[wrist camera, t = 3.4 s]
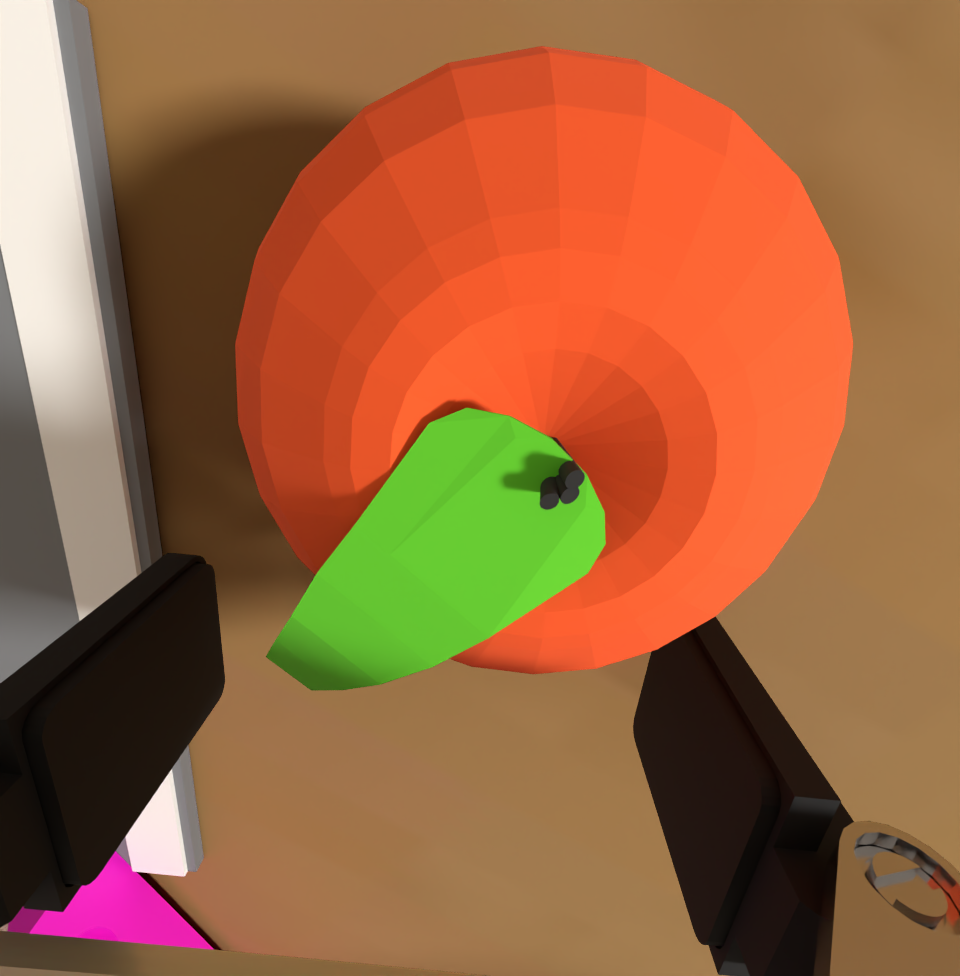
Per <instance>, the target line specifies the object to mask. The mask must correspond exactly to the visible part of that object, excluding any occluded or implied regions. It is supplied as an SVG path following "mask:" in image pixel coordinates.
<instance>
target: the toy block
mask: <svg viewBox="0 0 960 976" xmlns="http://www.w3.org/2000/svg"><path fill="white" fill-rule="evenodd" d="M8 931H9V932H20V933H31V934H43V935H54V936H65V937H77V938H88V939H99V940H110V941H122V942H133V943H144V944H156V945H167V946H178V947H190V948H201V949H212V950H214V949H213V948H212V947H211V946H210V945H209V944H208V943H207V942H206V941H205V940H204V939H203V938H202V937H201V936H200V935H199V934H198V933H197V932H196V931H195V930H194V929H193V928H192V927H191V926H190V925H189V924H188V923H187V922H186V921H185V920H184V919H183V918H182V917H181V916H180V915H179V914H178V913H177V912H176V911H175V910H174V909H173V908H172V907H171V906H170V905H169V904H168V903H167V902H166V901H165V900H164V899H163V898H162V897H161V896H160V895H159V894H158V893H157V892H156V891H155V890H154V889H153V888H152V887H151V886H150V885H149V884H148V883H147V882H146V881H145V880H144V879H143V878H142V877H141V876H140V875H139V874H138V873H137V872H134V871H132V867H131V866H130V865H129V864H128V863H127V862H126V861H125V860H124V859H123V858H122V857H121V856H120V855H119V854H118V853H117V852H116V851H115V853H114V854H113V856H112V857H111V858H110V860H109V861H108V863H107V864H106V866H105V867H104V869H103V870H102V872H101V873H100V874H99V876H98V877H97V878H96V879H95V880H94V881H93V882H92V883H91V884H89V885H86V886H83V885H82V886H81V888H80V889H79V890H78V892H77V893H76V895H75V896H74V897H73V899H72V900H71V902H70V903H69V905H68V906H67V907H66V909H65V910H64V912H55V911H45V910H34V909H24V906H23V907H22V908H21V910H20V911H19V912H18V914H17V915H16V916H15V917H14V919H13V920H12V921H11V922H9V924H8Z"/></svg>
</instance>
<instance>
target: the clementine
mask: <svg viewBox="0 0 960 976" xmlns="http://www.w3.org/2000/svg"><path fill="white" fill-rule="evenodd" d="M852 348H853V340H852V334H851V328H850V322H849V316H848V310H847V304H846V298H845V292H844V286H843V280H842V274H841V268H840V262H839V257H838V255H837V253H836V251H835V249H834V247H833V245H832V243H831V241H830V239H829V237H828V235H827V233H826V231H825V229H824V227H823V225H822V223H821V221H820V219H819V217H818V215H817V213H816V211H815V209H814V207H813V205H812V203H811V201H810V199H809V197H808V195H807V193H806V191H805V189H804V187H803V185H802V183H801V181H800V179H799V177H798V176H797V175H796V174H795V173H794V172H793V171H792V170H791V169H790V168H789V167H788V166H787V165H786V164H785V163H784V162H783V161H782V160H781V159H780V158H779V157H778V156H777V155H776V154H775V153H774V152H773V151H772V150H771V149H770V148H769V147H768V146H767V145H766V144H765V143H764V141H763V140H762V139H761V138H760V137H759V136H758V135H757V134H756V133H755V132H754V131H753V130H752V129H751V128H750V127H749V126H748V125H747V124H746V123H745V122H744V121H743V120H742V119H741V118H740V117H739V116H738V115H737V114H736V113H735V112H734V111H733V110H731V109H730V108H728V107H726V106H725V105H723V104H721V103H719V102H718V101H716V100H714V99H712V98H710V97H708V96H706V95H704V94H702V93H700V92H698V91H696V90H694V89H692V88H690V87H688V86H686V85H684V84H682V83H680V82H678V81H676V80H674V79H672V78H670V77H668V76H666V75H664V74H663V73H661V72H659V71H657V70H655V69H653V68H651V67H649V66H647V65H645V64H643V63H641V62H639V61H637V60H633V59H626V58H620V57H613V56H606V55H599V54H592V53H585V52H578V51H571V50H564V49H558V48H551V47H544V46H540V47H535V48H529V49H524V50H518V51H512V52H507V53H501V54H496V55H490V56H485V57H479V58H473V59H468V60H462V61H457V62H451V63H447V64H445V65H443V66H442V67H440V68H438V69H436V70H434V71H432V72H430V73H428V74H426V75H425V76H423V77H421V78H419V79H417V80H415V81H413V82H411V83H410V84H408V85H406V86H404V87H402V88H400V89H398V90H396V91H395V92H393V93H391V94H389V95H387V96H385V97H383V98H381V99H379V100H378V101H376V102H374V103H372V104H370V105H368V106H366V107H365V108H364V109H363V110H362V111H361V112H360V113H359V114H358V115H357V116H356V117H355V118H354V119H353V120H352V121H351V122H350V123H349V124H348V125H347V126H346V127H345V128H344V129H343V130H342V131H341V132H340V133H339V134H338V135H337V136H336V137H335V138H334V139H333V140H332V141H331V142H330V143H329V144H328V145H327V146H326V147H325V148H324V149H323V150H322V151H321V152H320V153H319V154H318V155H317V156H316V157H315V158H314V159H313V160H312V161H311V162H310V163H309V164H308V165H307V166H306V167H305V168H304V169H303V170H302V171H301V172H300V173H299V175H298V177H297V179H296V181H295V183H294V184H293V186H292V188H291V190H290V192H289V194H288V195H287V197H286V199H285V201H284V203H283V205H282V206H281V208H280V210H279V212H278V214H277V216H276V217H275V219H274V221H273V223H272V225H271V227H270V228H269V230H268V232H267V234H266V236H265V238H264V239H263V241H262V243H261V245H260V247H259V249H258V251H257V255H256V258H255V261H254V265H253V269H252V273H251V278H250V282H249V286H248V291H247V295H246V299H245V304H244V308H243V312H242V317H241V321H240V325H239V330H238V334H237V338H236V343H235V353H236V378H237V404H238V424H239V428H240V431H241V434H242V438H243V441H244V444H245V448H246V451H247V454H248V457H249V461H250V464H251V467H252V471H253V474H254V477H255V480H256V484H257V487H258V490H259V494H260V496H261V498H262V500H263V501H264V503H265V504H266V506H267V508H268V509H269V511H270V513H271V514H272V516H273V518H274V519H275V521H276V523H277V524H278V526H279V528H280V529H281V531H282V533H283V534H284V536H285V538H286V539H287V541H288V543H289V544H290V546H291V548H292V549H293V551H294V553H295V554H296V556H297V557H298V558H299V559H300V560H301V561H302V562H303V563H304V564H305V565H306V566H307V567H308V568H309V569H310V570H311V571H312V572H313V573H314V574H315V577H314V579H313V580H312V582H311V584H310V586H309V587H308V589H307V591H306V592H305V594H304V596H303V597H302V599H301V601H300V602H299V604H298V606H297V607H296V609H295V611H294V612H293V614H292V616H291V617H290V619H289V620H288V622H287V623H286V625H285V626H284V628H283V630H282V631H281V633H280V634H279V636H278V637H277V639H276V640H275V642H274V644H273V645H272V647H271V649H270V651H269V652H268V654H267V656H266V657H267V658H268V659H269V660H271V661H272V662H273V663H275V664H276V665H278V666H279V667H280V668H282V669H283V670H284V671H286V672H287V673H288V674H290V675H291V676H292V677H294V678H295V679H297V680H298V681H299V682H301V683H302V684H303V685H305V686H306V687H307V688H309V689H310V690H346V689H353V688H360V687H366V686H373V685H380V684H383V683H386V682H389V681H392V680H395V679H398V678H401V677H404V676H407V675H410V674H413V673H416V672H419V671H422V670H425V669H428V668H431V667H434V666H435V665H437V664H439V663H441V662H443V661H445V660H447V659H452V660H454V661H457V662H460V663H463V664H466V665H469V666H471V667H480V668H488V669H496V670H504V671H512V672H520V673H528V674H540V673H551V672H562V671H573V670H584V669H596V668H599V667H602V666H605V665H609V664H612V663H615V662H618V661H621V660H625V659H628V658H631V657H634V656H638V655H641V654H644V653H647V652H651V651H654V650H657V649H659V648H660V647H662V646H664V645H666V644H668V643H669V642H671V641H673V640H675V639H676V638H678V637H680V636H682V635H684V634H685V633H687V632H689V631H691V630H692V629H694V628H696V627H698V626H699V625H701V624H703V623H705V622H707V621H708V620H710V619H712V618H714V617H715V616H716V615H717V614H718V613H719V612H721V611H722V610H723V609H724V608H725V607H726V606H727V605H728V604H729V603H731V602H732V601H733V600H734V599H735V598H736V597H737V596H738V595H739V594H741V593H742V592H743V591H744V590H745V589H746V588H747V587H748V586H749V585H751V584H752V583H753V582H754V581H755V580H756V579H757V578H758V577H759V576H761V575H762V574H763V573H764V572H765V571H766V569H767V568H768V567H769V565H770V564H771V562H772V561H773V560H774V558H775V557H776V555H777V554H778V552H779V551H780V549H781V548H782V547H783V545H784V544H785V542H786V541H787V539H788V538H789V537H790V535H791V534H792V532H793V531H794V529H795V528H796V527H797V525H798V524H799V522H800V521H801V519H802V518H803V516H804V515H805V514H806V512H807V511H808V509H809V508H810V506H811V505H812V504H813V502H814V501H815V499H816V497H817V494H818V491H819V489H820V486H821V484H822V481H823V478H824V476H825V473H826V471H827V468H828V466H829V463H830V460H831V458H832V455H833V453H834V450H835V447H836V445H837V442H838V440H839V437H840V434H841V432H842V429H843V427H844V420H845V411H846V402H847V393H848V384H849V375H850V366H851V357H852Z"/></svg>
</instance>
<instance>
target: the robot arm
mask: <svg viewBox="0 0 960 976" xmlns="http://www.w3.org/2000/svg"><path fill="white" fill-rule="evenodd" d="M224 684H225V674H224V664H223V654H222V644H221V634H220V624H219V614H218V604H217V594H216V584H215V573H214V569H213V567H212V566H211V565H209V564H206V561H205V560H204V558H203V557H201V556H197V555H186V554H176V553H167V554H166V555H164V556H162V557H161V558H160V559H159V560H157V561H156V562H155V563H153V564H152V565H151V566H150V567H148V568H147V569H146V570H144V571H143V572H142V573H141V574H139V575H138V576H137V577H136V578H134V579H133V580H132V581H130V582H129V583H128V584H127V585H125V586H124V587H123V588H121V589H120V590H119V591H118V592H116V593H115V594H114V595H113V596H111V597H110V598H109V599H107V600H106V601H105V602H104V603H102V604H101V605H100V606H98V607H97V608H96V609H95V610H93V611H92V612H91V613H90V614H88V615H87V616H86V617H84V618H83V619H82V620H81V621H79V622H78V623H77V624H75V625H74V626H73V627H72V628H70V629H69V630H68V631H67V632H65V633H64V634H63V635H61V636H60V637H59V638H58V639H56V640H55V641H54V642H52V643H51V644H50V645H49V646H47V647H46V648H45V649H44V650H42V651H41V652H40V653H38V654H37V655H36V656H35V657H33V658H32V659H31V660H29V661H28V662H27V663H26V664H24V665H23V666H22V667H21V668H19V669H18V670H17V671H15V672H14V673H13V674H12V675H10V676H9V677H8V678H6V679H5V680H4V681H3V682H1V683H0V976H486V975H477V974H466V973H456V972H445V971H435V970H424V969H414V968H403V967H393V966H382V965H372V964H362V963H351V962H341V961H330V960H319V959H309V958H298V957H287V956H277V955H266V954H255V953H245V952H234V951H223V950H212V949H201V948H190V947H178V946H167V945H156V944H144V943H133V942H122V941H110V940H99V939H88V938H77V937H65V936H54V935H43V934H31V933H20V932H9V931H8V924H9V922H11V921H12V920H13V919H14V917H15V916H16V915H17V914H18V912H19V911H20V910H21V908H22V907H23V906H24V909H34V910H45V911H55V912H64V910H65V909H66V907H67V906H68V905H69V903H70V902H71V900H72V899H73V897H74V896H75V895H76V893H77V892H78V890H79V889H80V888H81V886H82V885H83V886H86V885H89V884H91V883H92V882H93V881H94V880H95V879H96V878H97V877H98V876H99V874H100V873H101V872H102V870H103V869H104V867H105V866H106V864H107V863H108V861H109V860H110V858H111V857H112V856H113V854H114V853H115V851H116V850H117V848H118V847H119V845H120V844H121V842H122V841H123V839H124V838H125V837H126V835H127V834H128V832H129V831H130V829H131V828H132V826H133V825H134V823H135V822H136V820H137V819H138V818H139V816H140V815H141V813H142V812H143V810H144V809H145V807H146V806H147V804H148V803H149V802H150V800H151V799H152V797H153V796H154V794H155V793H156V791H157V790H158V788H159V787H160V785H161V784H162V783H163V781H164V780H165V778H166V777H167V775H168V774H169V772H170V771H171V769H172V768H173V766H174V765H175V764H176V762H177V761H178V759H179V758H180V756H181V755H182V753H183V752H184V750H185V749H186V747H187V746H188V745H189V743H190V742H191V740H192V739H193V737H194V736H195V734H196V733H197V731H198V730H199V729H200V727H201V726H202V724H203V723H204V721H205V720H206V718H207V717H208V715H209V714H210V712H211V711H212V710H213V708H214V707H215V705H216V704H217V702H218V701H219V699H220V697H221V695H222V692H223V689H224ZM633 731H634V739H635V742H636V746H637V749H638V752H639V755H640V759H641V762H642V765H643V768H644V771H645V775H646V778H647V781H648V784H649V788H650V791H651V794H652V797H653V800H654V804H655V807H656V810H657V813H658V816H659V820H660V823H661V826H662V829H663V833H664V836H665V839H666V842H667V845H668V849H669V852H670V855H671V858H672V862H673V865H674V868H675V871H676V874H677V878H678V881H679V884H680V887H681V891H682V894H683V897H684V900H685V903H686V907H687V910H688V913H689V916H690V919H691V923H692V926H693V929H694V932H695V934H696V937H697V939H698V940H699V942H700V943H701V944H703V945H709V948H710V951H711V954H712V957H713V960H714V963H715V966H716V969H717V972H718V974H719V975H729V976H960V873H959V872H958V871H957V869H956V868H955V867H954V866H953V865H952V864H951V863H949V862H948V861H947V860H946V859H944V858H943V857H942V856H941V855H939V854H938V853H937V852H936V851H934V850H933V849H932V848H931V847H929V846H928V845H926V844H924V843H923V842H921V841H919V840H918V839H916V838H914V837H913V836H911V835H910V834H908V833H905V832H903V831H901V830H898V829H896V828H894V827H891V826H889V825H886V824H881V823H877V822H872V821H860V822H854V821H853V820H852V818H851V817H850V815H849V814H848V812H847V811H846V809H845V808H844V807H843V805H842V804H841V800H840V799H839V797H838V796H837V794H836V793H835V791H834V790H833V788H832V787H831V786H830V784H829V783H828V781H827V780H826V778H825V777H824V775H823V774H822V772H821V771H820V769H819V768H818V766H817V765H816V763H815V762H814V761H813V759H812V758H811V756H810V755H809V753H808V752H807V750H806V749H805V747H804V746H803V744H802V743H801V741H800V740H799V739H798V737H797V736H796V734H795V733H794V731H793V730H792V728H791V727H790V725H789V724H788V722H787V721H786V719H785V718H784V717H783V715H782V714H781V712H780V711H779V709H778V708H777V706H776V705H775V703H774V702H773V700H772V699H771V697H770V696H769V694H768V693H767V692H766V690H765V689H764V687H763V686H762V684H761V683H760V681H759V680H758V678H757V677H756V675H755V674H754V672H753V671H752V670H751V668H750V667H749V665H748V664H747V662H746V661H745V659H744V658H743V656H742V655H741V653H740V652H739V650H738V649H737V647H736V646H735V645H734V643H733V642H732V640H731V639H730V637H729V636H728V634H727V633H726V631H725V630H724V628H723V627H722V625H721V624H720V623H719V621H718V620H717V618H716V617H714V618H712V619H710V620H708V621H707V622H705V623H703V624H701V625H699V626H698V627H696V628H694V629H692V630H691V631H689V632H687V633H685V634H684V635H682V636H680V637H678V638H676V639H675V640H673V641H671V642H669V643H668V644H666V645H664V646H662V647H660V648H659V649H657V650H654V651H652V652H651V656H650V660H649V663H648V667H647V671H646V675H645V679H644V683H643V687H642V690H641V694H640V698H639V702H638V706H637V710H636V714H635V717H634V725H633Z"/></svg>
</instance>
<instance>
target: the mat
mask: <svg viewBox="0 0 960 976" xmlns="http://www.w3.org/2000/svg"><path fill="white" fill-rule="evenodd" d="M161 557H162V549H161V542H160V535H159V527H158V520H157V513H156V505H155V498H154V491H153V483H152V476H151V469H150V462H149V454H148V447H147V440H146V432H145V425H144V418H143V410H142V403H141V396H140V389H139V381H138V374H137V367H136V359H135V352H134V345H133V337H132V330H131V323H130V316H129V308H128V301H127V294H126V286H125V279H124V272H123V264H122V257H121V250H120V243H119V235H118V228H117V221H116V213H115V206H114V199H113V191H112V184H111V177H110V170H109V162H108V155H107V148H106V140H105V133H104V126H103V118H102V111H101V104H100V97H99V89H98V82H97V75H96V67H95V60H94V53H93V45H92V38H91V31H90V24H89V16H88V9H87V8H86V7H85V6H83V5H82V4H80V3H79V2H78V1H76V0H0V683H1V682H3V681H4V680H5V679H6V678H8V677H9V676H10V675H12V674H13V673H14V672H15V671H17V670H18V669H19V668H21V667H22V666H23V665H24V664H26V663H27V662H28V661H29V660H31V659H32V658H33V657H35V656H36V655H37V654H38V653H40V652H41V651H42V650H44V649H45V648H46V647H47V646H49V645H50V644H51V643H52V642H54V641H55V640H56V639H58V638H59V637H60V636H61V635H63V634H64V633H65V632H67V631H68V630H69V629H70V628H72V627H73V626H74V625H75V624H77V623H78V622H79V621H81V620H82V619H83V618H84V617H86V616H87V615H88V614H90V613H91V612H92V611H93V610H95V609H96V608H97V607H98V606H100V605H101V604H102V603H104V602H105V601H106V600H107V599H109V598H110V597H111V596H113V595H114V594H115V593H116V592H118V591H119V590H120V589H121V588H123V587H124V586H125V585H127V584H128V583H129V582H130V581H132V580H133V579H134V578H136V577H137V576H138V575H139V574H141V573H142V572H143V571H144V570H146V569H147V568H148V567H150V566H151V565H152V564H153V563H155V562H156V561H157V560H159V559H160V558H161ZM116 852H117V853H118V854H119V855H120V856H121V857H122V858H123V859H124V860H125V861H126V862H127V863H128V864H129V865H131V867H132V871H134V872H144V873H154V874H164V875H175V876H185V875H186V873H187V871H193V872H197V870H198V868H199V866H200V864H201V862H202V860H203V858H204V856H203V849H202V841H201V834H200V827H199V819H198V812H197V805H196V797H195V790H194V783H193V776H192V768H191V761H190V754H189V746H187V747H186V749H185V750H184V752H183V753H182V755H181V756H180V758H179V759H178V761H177V762H176V764H175V765H174V766H173V768H172V769H171V771H170V772H169V774H168V775H167V777H166V778H165V780H164V781H163V783H162V784H161V785H160V787H159V788H158V790H157V791H156V793H155V794H154V796H153V797H152V799H151V800H150V802H149V803H148V804H147V806H146V807H145V809H144V810H143V812H142V813H141V815H140V816H139V818H138V819H137V820H136V822H135V823H134V825H133V826H132V828H131V829H130V831H129V832H128V834H127V835H126V837H125V838H124V839H123V841H122V842H121V844H120V845H119V847H118V848H117V850H116Z"/></svg>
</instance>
